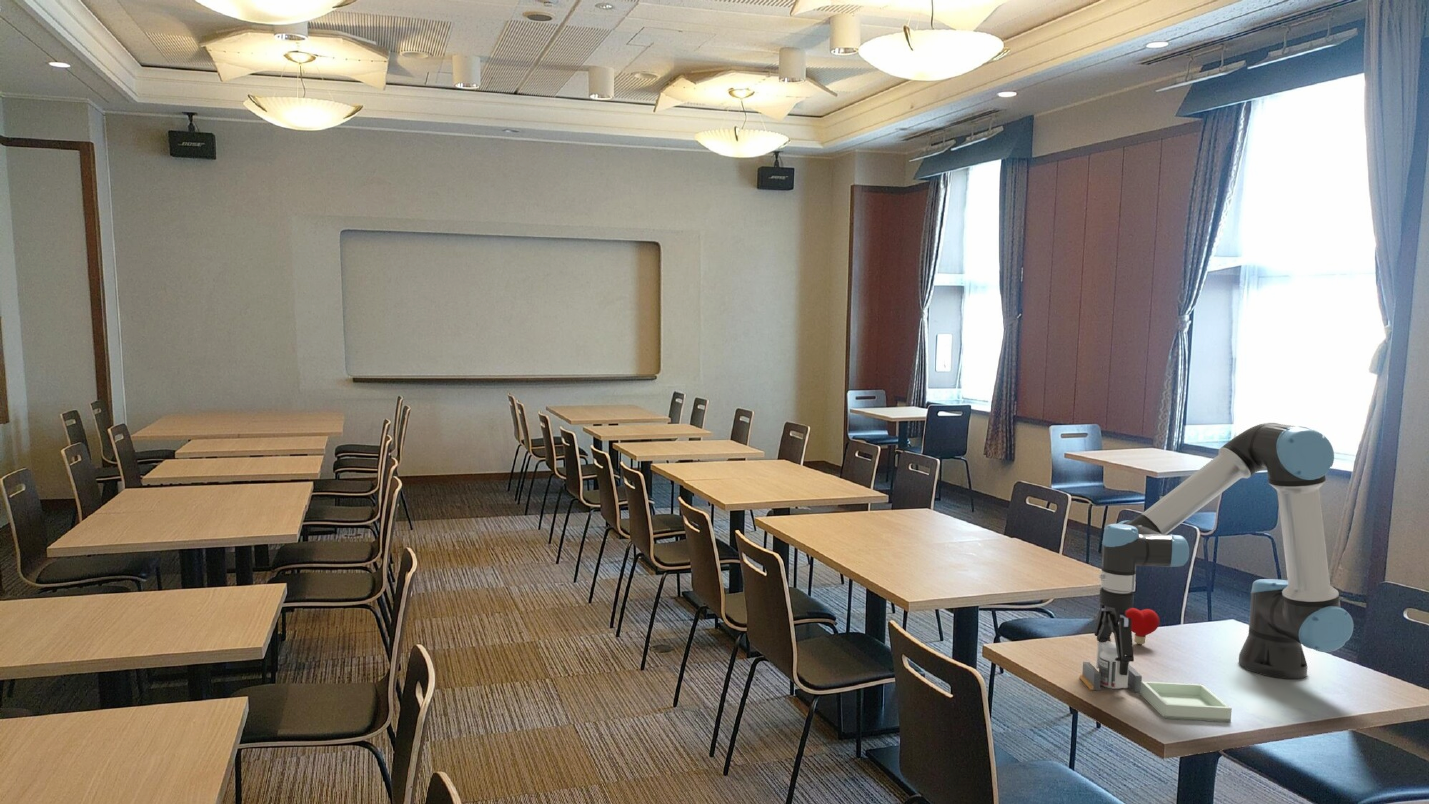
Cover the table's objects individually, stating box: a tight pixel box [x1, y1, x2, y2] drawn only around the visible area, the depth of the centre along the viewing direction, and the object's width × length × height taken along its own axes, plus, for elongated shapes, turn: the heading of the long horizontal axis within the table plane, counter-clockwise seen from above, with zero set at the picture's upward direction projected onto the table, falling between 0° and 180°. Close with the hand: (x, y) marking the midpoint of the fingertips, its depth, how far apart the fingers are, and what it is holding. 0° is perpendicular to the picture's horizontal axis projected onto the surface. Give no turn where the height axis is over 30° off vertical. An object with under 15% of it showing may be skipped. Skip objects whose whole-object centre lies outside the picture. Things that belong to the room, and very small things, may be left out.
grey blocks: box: [1079, 661, 1143, 693], centre depth 223 cm, size 12×8×4 cm, turn 86°
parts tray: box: [1140, 681, 1232, 723], centre depth 211 cm, size 14×14×3 cm
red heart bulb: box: [1125, 607, 1160, 646], centre depth 254 cm, size 9×7×10 cm
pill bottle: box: [1098, 641, 1121, 690], centre depth 223 cm, size 6×6×10 cm
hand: (1111, 677), depth 223 cm, fingers open, 12 cm apart
